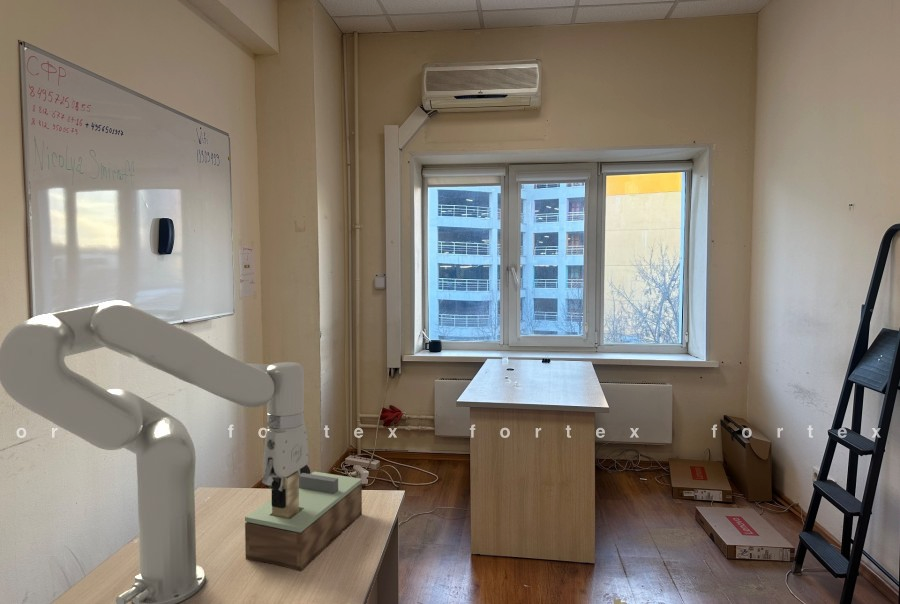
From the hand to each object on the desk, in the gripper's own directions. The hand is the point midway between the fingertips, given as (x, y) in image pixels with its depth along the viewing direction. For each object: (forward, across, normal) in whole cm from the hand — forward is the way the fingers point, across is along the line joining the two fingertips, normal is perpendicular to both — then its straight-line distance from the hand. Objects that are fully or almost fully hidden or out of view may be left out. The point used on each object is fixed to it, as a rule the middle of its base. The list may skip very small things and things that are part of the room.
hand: (285, 501), depth 109 cm
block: (+6, 0, 0) cm, 6 cm away
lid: (+3, +8, 0) cm, 9 cm away
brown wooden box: (+12, +8, 0) cm, 14 cm away
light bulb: (+12, +23, +13) cm, 29 cm away
